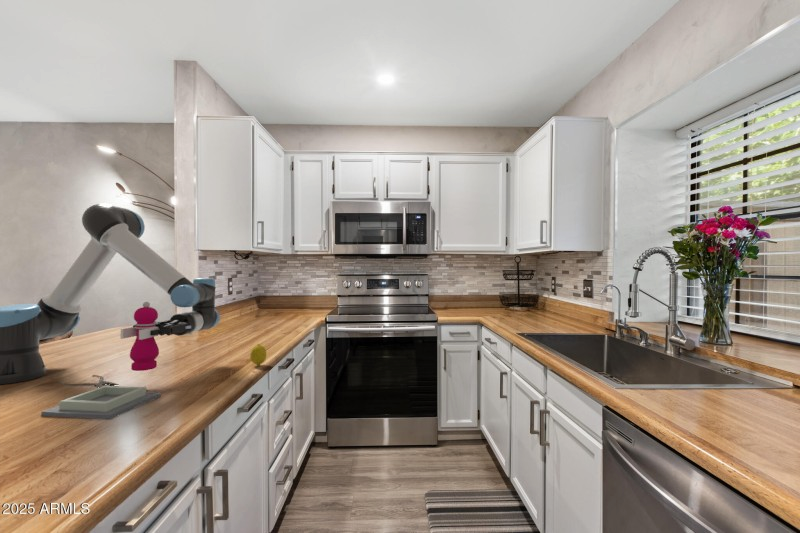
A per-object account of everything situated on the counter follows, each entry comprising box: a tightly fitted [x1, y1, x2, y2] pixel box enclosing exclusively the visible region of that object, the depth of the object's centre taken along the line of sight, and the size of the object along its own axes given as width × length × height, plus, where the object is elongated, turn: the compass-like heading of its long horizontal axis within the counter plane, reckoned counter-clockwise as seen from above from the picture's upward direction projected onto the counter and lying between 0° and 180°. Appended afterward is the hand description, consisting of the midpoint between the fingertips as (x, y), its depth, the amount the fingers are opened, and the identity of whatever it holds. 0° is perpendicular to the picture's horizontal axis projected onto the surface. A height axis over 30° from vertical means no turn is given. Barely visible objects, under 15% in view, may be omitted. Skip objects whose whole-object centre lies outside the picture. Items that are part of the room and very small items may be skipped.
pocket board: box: [40, 385, 161, 420], centre depth 96 cm, size 18×16×3 cm
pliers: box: [60, 374, 120, 388], centre depth 116 cm, size 10×1×20 cm
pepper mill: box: [129, 301, 160, 372], centre depth 111 cm, size 7×7×20 cm
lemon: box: [250, 343, 267, 367], centre depth 137 cm, size 6×6×8 cm
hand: (131, 334), depth 106 cm, fingers closed on pepper mill, 5 cm apart
